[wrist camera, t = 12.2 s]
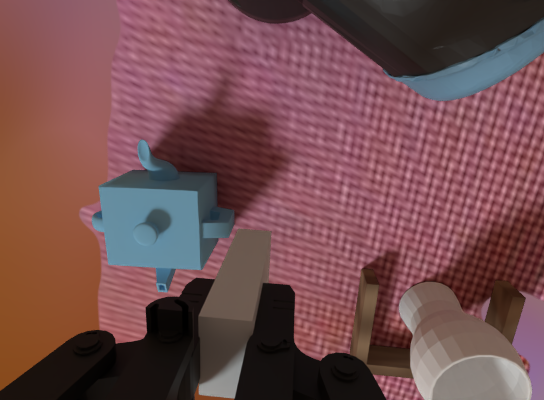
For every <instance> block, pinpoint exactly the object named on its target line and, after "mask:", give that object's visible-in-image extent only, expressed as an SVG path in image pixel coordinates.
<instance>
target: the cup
mask: <svg viewBox="0 0 544 400" xmlns="http://www.w3.org/2000/svg"><path fill="white" fill-rule="evenodd" d="M399 312H400V316H401V318H402V319H403V321H404V322H405V324H406V325H407V327H408V328H409V329H410V331H411V332H412V334H413V338H412V341H411V348H410V367H411V371H412V374H413V377H414V380H415V383H416V385H417V388H418V390H419V392H420V393H421V395H422V396H423V398H424V400H530V399H531V393H532V387H531V381H530V378H529V376H528V373H527V371H526V369H525V367H524V365H523V362H522V360H521V358H520V356H519V355H518V353H517V351H516V350H515V348H514V347H513V346H512V345H511V343H510V342H509V341H508V340H507V339H506V338H505V336H504V335H502V334H501V333H500V332H499V331H498V330H497V329H496V328H494V327H493V326H491V325H489V324H488V323H486V322H484V321H483V320H481V319H479V318H477V317H475V316H473V315H470V314H466V313H465V312H464V311H463V310H462V308H461V306H460V303H459V301H458V299H457V297H456V296H455V294H454V292H453V291H452V290H451V289H450V288H449V287H447V286H445V285H443V284H441V283H437V282H424V283H419V284H417V285H415V286H413V287H411V288H410V289H409V290H407V291H406V292H405V294H404V295H403V296H402V298H401V301H400V304H399Z"/></svg>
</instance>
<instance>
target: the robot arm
mask: <svg viewBox="0 0 544 400" xmlns="http://www.w3.org/2000/svg"><path fill="white" fill-rule="evenodd" d="M228 1H229V2H230V3H231V4H232V5H233V6H234V7H235V8H236V9H238V10H239V11H240V12H242V13H243V14H245V15H247V16H248V17H250V18H253V19H255V20H258V21H261V22H266V23H288V22H292V21H296V20H299V19H301V18H304V17H306V16H308V15H309V14H311V13H312V14H314V15H315V16H316V17H318V18H319V19H320V20H321V21H323V22H324V23H325V24H327V25H328V26H329V27H330V28H332V29H333V30H334V31H336V32H337V33H338V34H339V35H341V36H342V37H343V38H345V39H346V40H347V41H348V42H350V43H351V44H352V45H354V46H355V47H356V48H357V49H359V50H360V51H361V52H363V53H364V54H365V55H366V56H368V57H369V58H370V59H372V60H373V61H374V62H375V63H377V64H378V65H379V66H381V67H382V68H383V71H384V72H385V74H386V75H388V76H389V77H390V78H393V79H395V80H396V81H400V82H403V83H404V84H405V85H407V86H408V87H410V88H411V89H413V90H414V91H415V92H417V93H418V94H420V95H421V96H423V97H425V98H429V99H432V100H438V101H448V100H455V99H460V98H464V97H467V96H470V95H473V94H475V93H478V92H480V91H482V90H485V89H487V88H489V87H491V86H493V85H495V84H497V83H499V82H500V81H502V80H504V79H505V78H507V77H509V76H511V75H512V74H514V73H516V72H517V71H519V70H520V69H522V68H523V67H525V66H526V65H528V64H529V63H530V62H532V61H533V60H534V59H536V58H537V57H538V56H540V55H541V54H542V53H543V52H544V0H228ZM270 247H271V231H261V230H249V229H238V231H237V233H236V235H235V237H234V239H233V242H232V244H231V246H230V248H229V250H228V253H227V255H226V257H225V259H224V261H223V263H222V266H221V268H220V270H219V272H218V274H217V277H216V279H204V278H195V279H194V280H192V281H191V282H189V283H188V284H187V285H186V286H185V288H184V290H183V291H182V294H181V295H180V296H179V297H165V298H161V299H158V300H156V301H154V302H151V303H150V304H149V305H148V306H147V307H146V322H147V334H146V335H145V337H144V339H142V340H138V341H133V342H125V343H117V344H116V343H115V338H114V336H113V334H111V333H109V332H107V331H102V330H94V331H87V332H84V333H81V334H78V335H76V336H74V337H73V338H71V339H69V340H68V341H66V342H65V343H64V344H63V345H61V346H60V347H58V348H57V349H56V350H54V351H53V352H52V353H50V354H49V355H48V356H47V357H45V358H44V359H42V360H41V361H40V362H38V363H37V364H36V365H34V366H33V367H32V368H30V369H29V370H28V371H26V372H25V373H24V374H22V375H21V376H20V377H19V378H17V379H16V380H14V381H13V382H12V383H10V384H9V385H8V386H6V387H5V388H4V389H2V390H1V391H0V400H195V399H194V398H195V397H194V394H195V391H196V388H197V386H198V383H199V395H207V396H216V397H226V398H235V399H234V400H386V398H385V396H384V394H383V393H382V391H381V389H380V387H379V385H378V384H377V382H376V380H375V378H374V376H373V375H372V373H371V371H370V369H369V368H368V367H367V365H366V364H365V363H364V362H363V361H362V360H360V359H359V358H357V357H355V356H353V355H350V354H347V353H332V354H328V355H327V356H325V357H324V358H323V359H322V360H321V361H319V360H316V359H313V358H311V357H309V356H307V355H305V354H304V353H302V352H301V351H300V350H299V349H298V348H297V346H296V344H295V343H294V309H295V292H294V291H293V289H292V288H291V286H290V285H283V284H271V283H268V282H269V265H270Z"/></svg>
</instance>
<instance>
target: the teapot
mask: <svg viewBox="0 0 544 400" xmlns="http://www.w3.org/2000/svg"><path fill="white" fill-rule="evenodd" d="M138 156H139V159H140V161H141V163H142V165H143V166H144V167H145V168H146V169H147V170H132V171H130V172H127V173H125V174H123V175H121V176H119V177H117V178H115V179H112V180H110V181H108V182H106V183H104V184H102V185H100V186H99V193H100V201H101V210H102V211H99V212H97V213H95V214H94V215H93V217H92V224H93V227H94V228H95V229H96V230H98V231H101V232H104V234H105V241H106V249H107V257H108V264H109V265H122V266H138V267H154V268H156V276H157V282H156V285H157V289H158V292H168V290H169V287H170V284H171V281H172V278H173V276H174V273H175V270H176V269H193V270H202V269H203V267H204V265H205V264H206V262H207V260H208V258H209V257H210V255H211V253H212V251H213V249H214V248H215V246H216V244H217V242H218V238H229V236H230V233H231V231H232V228H233V226H234V210H231V209H226V208H220V207H218V205H217V173H205V172H180V171H177V170H176V168H175V167H174V166H173V165H172V164H171V163H169V162H167V161H165V160H161V159H157V158H155V157H154V156H153V155H152V153H151V150H150V148H149V145H148V144H147V142H146V141H145V140H140V141H139V143H138Z"/></svg>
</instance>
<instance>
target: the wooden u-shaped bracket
mask: <svg viewBox="0 0 544 400" xmlns="http://www.w3.org/2000/svg"><path fill="white" fill-rule="evenodd" d="M378 289H379V283H378V281H377V278H376V276H375V274H374V271H373V270H370V269H362V270H361V277H360V284H359V291H358V298H357V305H356V312H355V319H354V326H353V333H352V340H351V347H350V355H353V356H355V357H357V358H359V359H360V360H362V361H363V362H364V363H365V364H366V365H367V367H368V368H369V369H370V371H371V373H372V374H374V375H384V376H394V377H404V378H413V379H414V377H413V374H412V371H411V367H410V349H405V348H395V347H385V346H375V345H370V339H371V333H372V326H373V320H374V314H375V308H376V302H377V295H378ZM525 299H526V298H525V297H524V296H523V295H522V294H521V293H520V292H519V291H518V290H517V289H516V288H514V287H513V286H512V285H511V284H510V283H509V282H508V281H499V280H496V281H495V285H494V289H493V292H492V296H491V300H490V304H489V307H488V311H487V315H486V319H485V322H486V323H488V324H489V325H491V326H493V327H494V328H496V329H497V330H498V331H499V332H500V333H501V334H502V335H504V336H505V338H506V339H507V340H508V341H509V342H510V343H511V345H512V342H513V338H514V335H515V332H516V329H517V325H518V322H519V319H520V316H521V312H522V309H523V306H524V302H525Z"/></svg>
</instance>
